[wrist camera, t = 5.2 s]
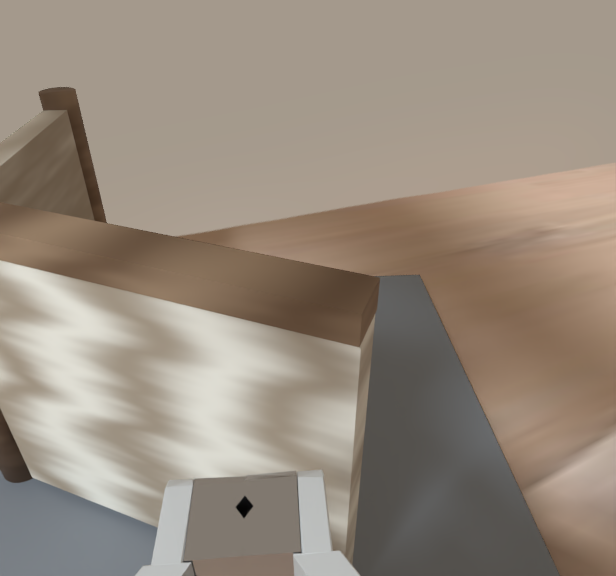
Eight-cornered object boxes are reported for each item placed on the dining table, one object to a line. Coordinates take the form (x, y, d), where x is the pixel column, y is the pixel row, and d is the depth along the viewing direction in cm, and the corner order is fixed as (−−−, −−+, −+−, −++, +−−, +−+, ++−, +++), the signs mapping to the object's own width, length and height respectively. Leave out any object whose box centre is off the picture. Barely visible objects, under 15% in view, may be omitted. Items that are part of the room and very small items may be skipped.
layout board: (-261, 847, 18) (-270, 844, 17) (62, 291, 46) (61, 286, 46) (641, 762, 20) (646, 758, 19) (418, 278, 48) (419, 273, 48)
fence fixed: (-2, 488, 29) (-148, 214, 20) (97, 284, 47) (45, 87, 37) (41, 486, 29) (-83, 212, 20) (124, 283, 47) (79, 87, 38)
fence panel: (29, 480, 29) (-97, 211, 20) (56, 452, 30) (-50, 192, 21) (340, 605, 23) (362, 314, 14) (353, 563, 25) (380, 277, 16)
